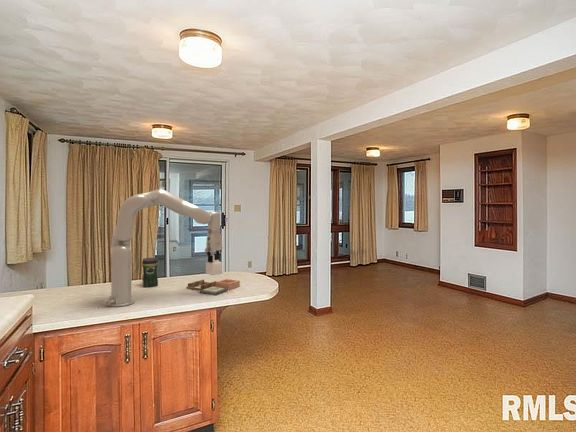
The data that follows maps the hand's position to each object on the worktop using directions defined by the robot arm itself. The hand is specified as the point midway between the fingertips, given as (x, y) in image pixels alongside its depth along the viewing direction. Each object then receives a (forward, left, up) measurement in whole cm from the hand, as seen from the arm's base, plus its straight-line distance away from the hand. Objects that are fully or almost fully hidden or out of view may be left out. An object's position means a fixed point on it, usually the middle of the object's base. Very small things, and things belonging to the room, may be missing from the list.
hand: (213, 261), depth 205 cm
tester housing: (0, 0, -19) cm, 19 cm away
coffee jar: (-7, +47, -19) cm, 51 cm away
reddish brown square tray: (+14, 0, -19) cm, 24 cm away
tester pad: (0, 0, -18) cm, 18 cm away
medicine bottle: (0, 0, -8) cm, 8 cm away
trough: (+7, +15, -19) cm, 25 cm away
